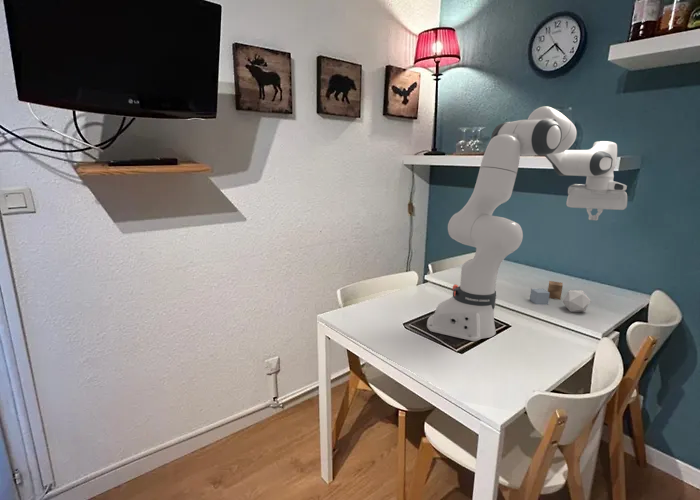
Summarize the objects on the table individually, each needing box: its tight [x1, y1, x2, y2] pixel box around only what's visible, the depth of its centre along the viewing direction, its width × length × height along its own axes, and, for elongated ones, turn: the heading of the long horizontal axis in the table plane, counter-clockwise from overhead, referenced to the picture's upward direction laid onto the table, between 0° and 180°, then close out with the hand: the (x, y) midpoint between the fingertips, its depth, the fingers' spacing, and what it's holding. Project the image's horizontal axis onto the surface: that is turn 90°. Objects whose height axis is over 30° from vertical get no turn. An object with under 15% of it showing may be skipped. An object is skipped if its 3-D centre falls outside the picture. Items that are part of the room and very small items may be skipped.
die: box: [561, 289, 592, 313], centre depth 149 cm, size 8×9×10 cm
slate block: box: [529, 288, 550, 305], centre depth 158 cm, size 5×5×5 cm
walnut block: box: [547, 280, 564, 301], centre depth 164 cm, size 5×5×6 cm
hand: (593, 220), depth 155 cm, fingers closed
